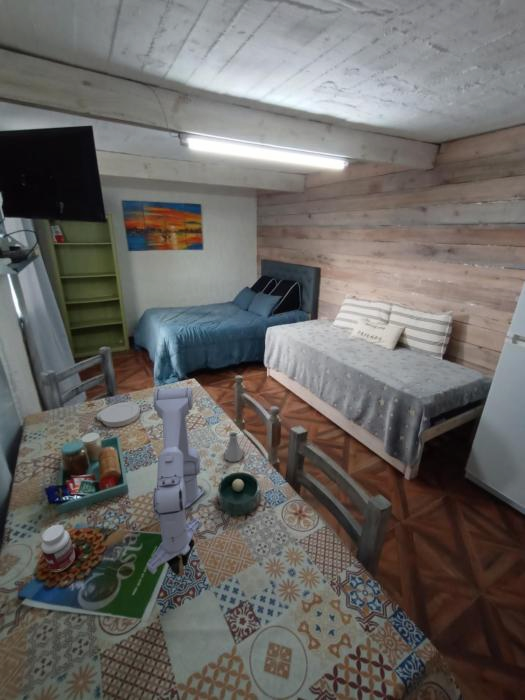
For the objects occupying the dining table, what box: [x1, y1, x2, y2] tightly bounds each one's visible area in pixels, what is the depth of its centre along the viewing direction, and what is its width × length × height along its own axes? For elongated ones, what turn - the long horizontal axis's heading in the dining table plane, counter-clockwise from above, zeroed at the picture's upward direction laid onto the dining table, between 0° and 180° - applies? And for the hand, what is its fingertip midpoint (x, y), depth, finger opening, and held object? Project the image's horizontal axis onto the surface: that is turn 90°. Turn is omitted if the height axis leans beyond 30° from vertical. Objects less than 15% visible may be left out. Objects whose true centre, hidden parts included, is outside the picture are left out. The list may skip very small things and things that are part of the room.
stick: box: [176, 554, 185, 578], centre depth 77 cm, size 2×2×8 cm
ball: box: [232, 479, 244, 492], centre depth 106 cm, size 4×4×4 cm
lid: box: [96, 401, 141, 428], centre depth 149 cm, size 17×20×3 cm
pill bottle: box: [41, 524, 76, 573], centre depth 83 cm, size 6×6×11 cm
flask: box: [224, 431, 244, 463], centre depth 122 cm, size 7×7×10 cm
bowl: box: [217, 471, 260, 517], centre depth 104 cm, size 13×13×5 cm
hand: (179, 567), depth 78 cm, fingers closed on stick, 2 cm apart
